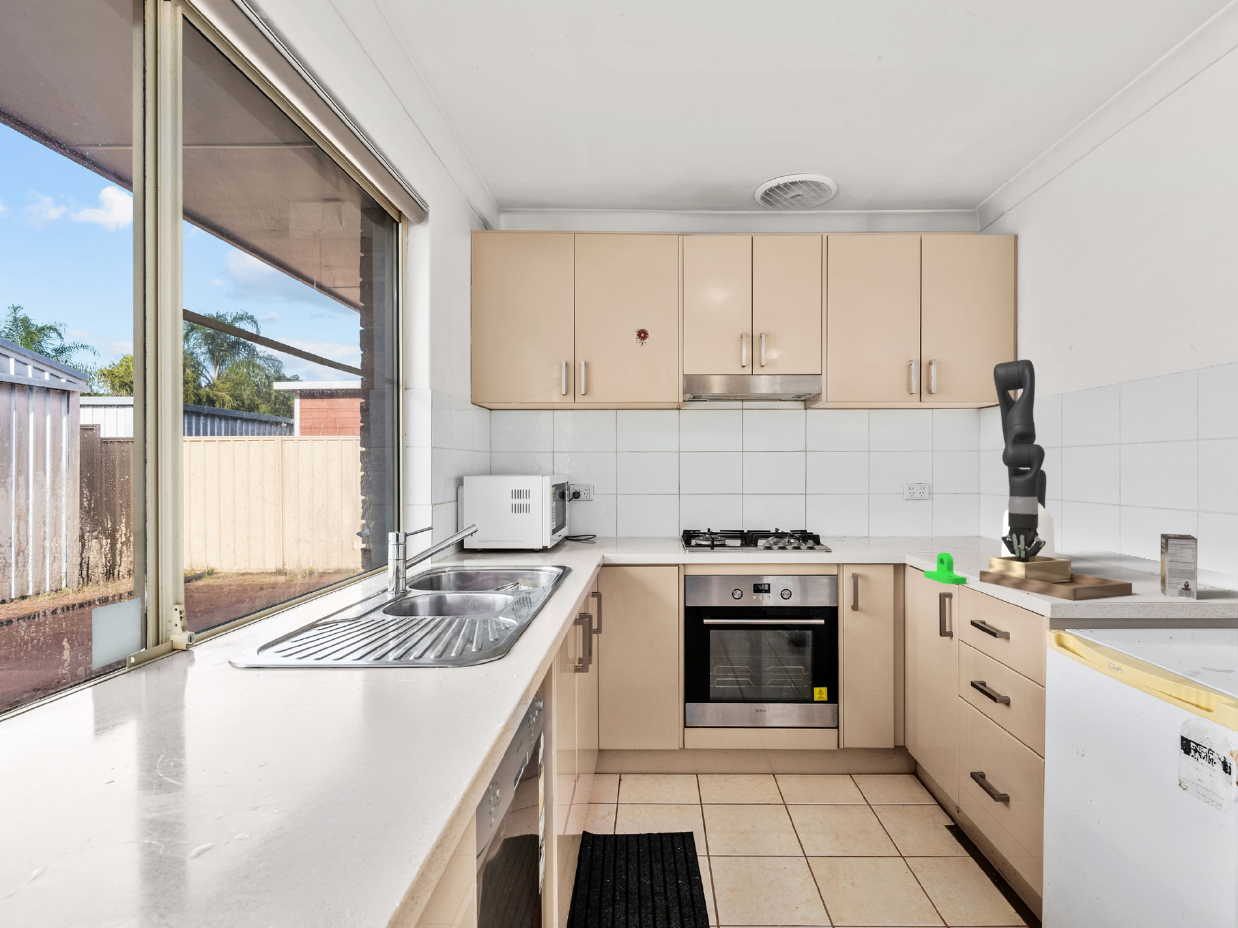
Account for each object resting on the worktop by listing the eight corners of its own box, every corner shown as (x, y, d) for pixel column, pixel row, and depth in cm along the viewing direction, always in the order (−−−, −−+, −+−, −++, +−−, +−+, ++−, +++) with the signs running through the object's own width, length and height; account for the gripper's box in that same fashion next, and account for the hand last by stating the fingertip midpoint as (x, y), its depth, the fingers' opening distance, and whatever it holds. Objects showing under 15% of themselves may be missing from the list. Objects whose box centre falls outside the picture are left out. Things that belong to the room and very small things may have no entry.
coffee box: (1159, 591, 175) (1159, 533, 175) (1190, 594, 172) (1190, 534, 172) (1165, 597, 168) (1166, 536, 168) (1198, 600, 164) (1198, 538, 164)
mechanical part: (924, 577, 198) (924, 551, 198) (943, 577, 198) (943, 551, 198) (946, 584, 186) (946, 557, 186) (966, 584, 186) (966, 557, 186)
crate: (988, 577, 190) (989, 557, 190) (1033, 574, 196) (1033, 554, 196) (1024, 584, 179) (1024, 563, 179) (1070, 581, 185) (1070, 560, 185)
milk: (1000, 568, 213) (1000, 490, 213) (1038, 569, 211) (1039, 490, 211) (1014, 574, 202) (1015, 492, 202) (1055, 576, 199) (1056, 492, 199)
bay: (979, 581, 191) (979, 570, 191) (1033, 576, 198) (1033, 566, 198) (1073, 600, 164) (1073, 588, 164) (1132, 594, 171) (1132, 583, 171)
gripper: (993, 510, 194) (993, 567, 195) (1034, 513, 182) (1034, 574, 182) (1012, 509, 197) (1012, 566, 197) (1053, 513, 184) (1053, 573, 184)
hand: (1023, 570), depth 189 cm, fingers closed
